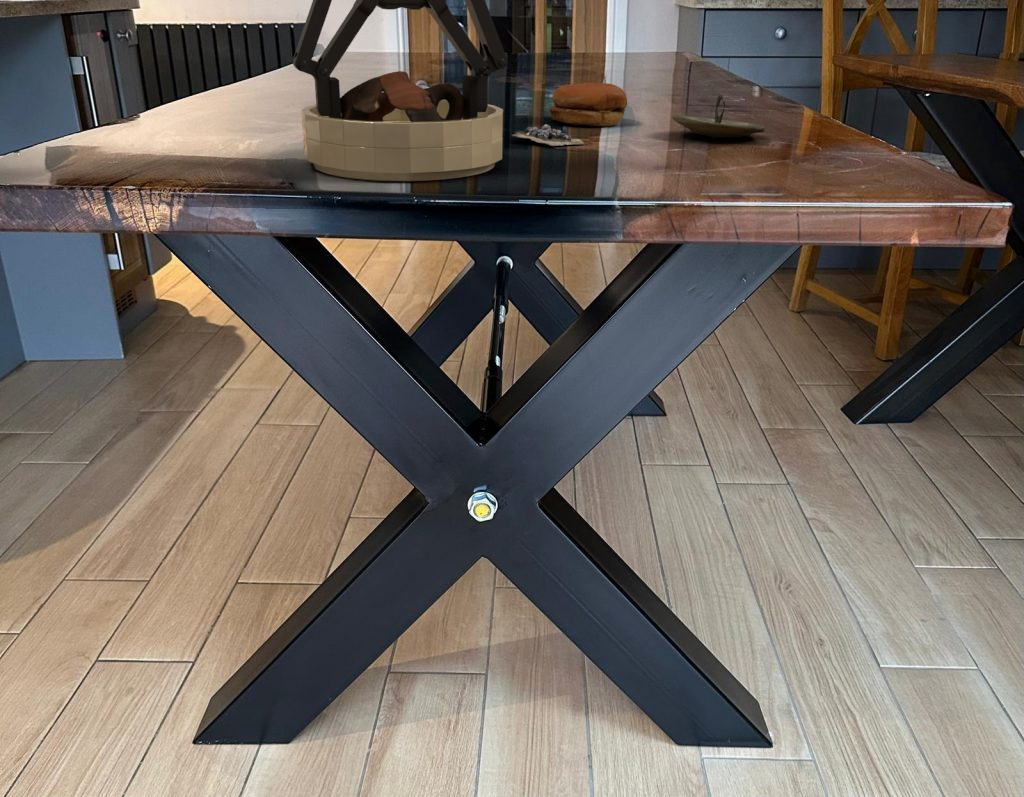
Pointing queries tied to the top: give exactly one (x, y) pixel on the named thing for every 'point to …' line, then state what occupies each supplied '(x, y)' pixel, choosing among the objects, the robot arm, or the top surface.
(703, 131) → the lid
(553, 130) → the blueberries
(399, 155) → the bowl
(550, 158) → the top surface
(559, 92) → the burger
